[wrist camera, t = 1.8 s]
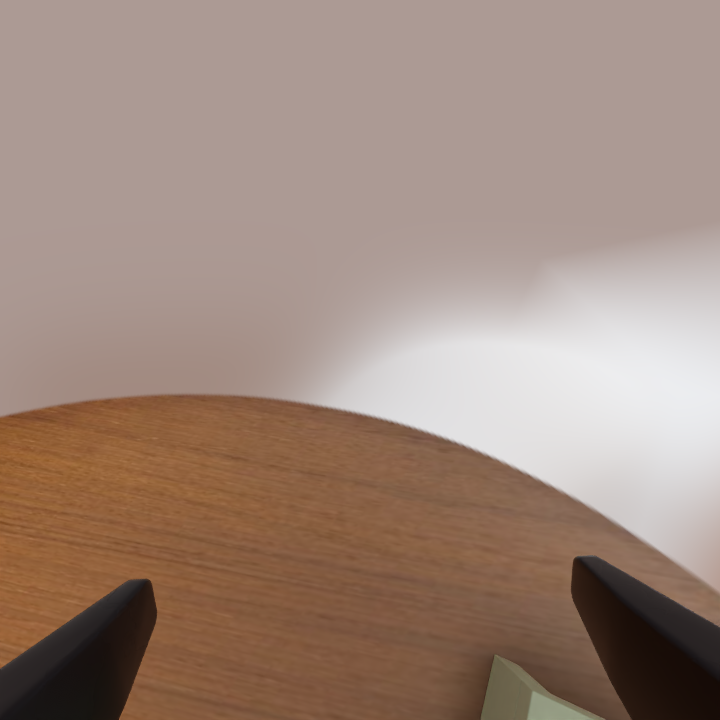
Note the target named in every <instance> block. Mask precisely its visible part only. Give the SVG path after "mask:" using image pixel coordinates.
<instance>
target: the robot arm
mask: <svg viewBox="0 0 720 720" xmlns="http://www.w3.org/2000/svg"><path fill="white" fill-rule="evenodd" d="M571 594H572V598H573V601H574V603H575V606H576V608H577V610H578V612H579V614H580V617H581V619H582V621H583V623H584V625H585V627H586V630H587V632H588V634H589V636H590V638H591V640H592V643H593V645H594V647H595V649H596V651H597V653H598V656H599V658H600V660H601V662H602V664H603V667H604V669H605V671H606V673H607V675H608V677H609V679H610V681H611V683H612V685H613V687H614V688H615V690H616V692H617V694H618V696H619V698H620V699H621V701H622V703H623V705H624V706H625V708H626V710H627V712H628V713H629V715H630V717H631V719H632V720H720V627H718V626H717V625H715V624H713V623H711V622H710V621H708V620H706V619H705V618H703V617H701V616H699V615H698V614H696V613H694V612H692V611H691V610H689V609H687V608H685V607H684V606H682V605H680V604H679V603H677V602H675V601H673V600H672V599H670V598H668V597H666V596H665V595H663V594H661V593H659V592H658V591H656V590H654V589H653V588H651V587H649V586H647V585H646V584H644V583H642V582H640V581H639V580H637V579H635V578H633V577H632V576H630V575H628V574H627V573H625V572H623V571H621V570H620V569H618V568H616V567H614V566H613V565H611V564H609V563H607V562H606V561H604V560H602V559H600V558H599V557H597V556H593V555H589V556H577V557H575V558H574V560H573V568H572V581H571ZM156 619H157V608H156V603H155V598H154V592H153V587H152V583H151V581H150V580H148V579H132V580H128V581H127V582H125V583H124V584H122V585H121V586H119V587H118V588H116V589H115V590H113V591H112V592H111V593H109V594H108V595H106V596H105V597H103V598H102V599H100V600H99V601H98V602H96V603H95V604H93V605H92V606H90V607H89V608H87V609H86V610H85V611H83V612H82V613H80V614H79V615H77V616H76V617H74V618H73V619H72V620H70V621H69V622H67V623H66V624H64V625H63V626H61V627H60V628H59V629H57V630H56V631H54V632H53V633H51V634H50V635H48V636H47V637H46V638H44V639H43V640H41V641H40V642H38V643H37V644H35V645H34V646H33V647H31V648H30V649H28V650H27V651H25V652H24V653H22V654H21V655H20V656H18V657H17V658H15V659H14V660H12V661H11V662H9V663H8V664H7V665H5V666H4V667H2V668H1V669H0V720H119V717H120V715H121V713H122V711H123V709H124V706H125V704H126V701H127V699H128V696H129V693H130V691H131V688H132V685H133V683H134V680H135V677H136V675H137V672H138V669H139V667H140V664H141V661H142V658H143V656H144V653H145V650H146V648H147V645H148V642H149V640H150V637H151V634H152V631H153V629H154V626H155V623H156Z"/></svg>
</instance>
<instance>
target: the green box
mask: <svg viewBox="0 0 720 720" xmlns="http://www.w3.org/2000/svg"><path fill="white" fill-rule="evenodd" d="M480 720H606V719H604V718H601V717H599V716H597V715H595V714H593V713H591V712H589V711H587V710H584V709H582V708H580V707H578V706H576V705H574V704H572V703H570V702H567V701H565V700H563V699H561V698H559V697H557V696H555V695H553V694H550V693H549V692H548V691H547V690H546V689H545V688H544V687H542V686H541V685H540V684H539V683H538V682H537V681H536V680H534V679H533V678H532V677H531V676H530V675H529V674H528V673H527V672H525V671H524V670H523V669H522V668H521V667H520V666H519V665H517V664H515V663H513V662H511V661H509V660H507V659H505V658H502V657H500V656H498V655H496V654H495V655H494V660H493V664H492V669H491V673H490V678H489V682H488V687H487V691H486V696H485V700H484V705H483V709H482V714H481V718H480Z"/></svg>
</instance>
